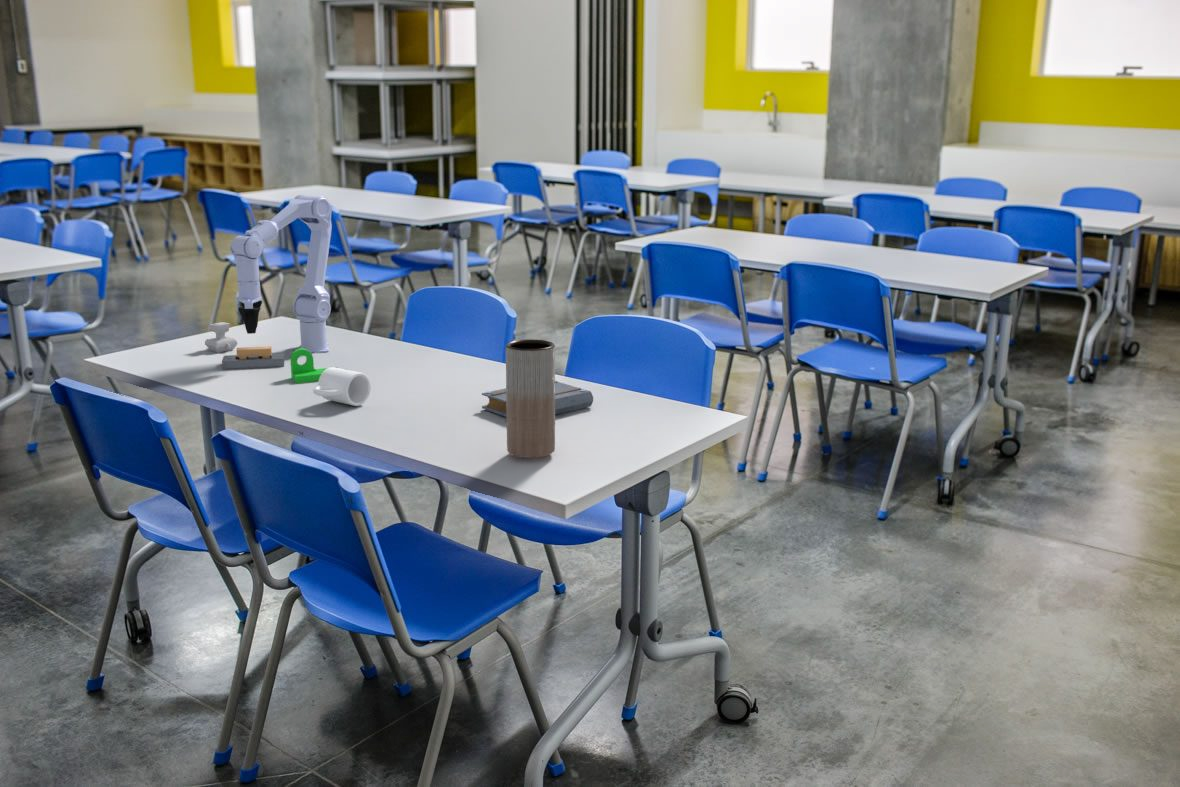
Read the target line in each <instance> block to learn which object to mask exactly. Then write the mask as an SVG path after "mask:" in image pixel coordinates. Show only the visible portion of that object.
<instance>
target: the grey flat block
mask: <svg viewBox="0 0 1180 787" xmlns="http://www.w3.org/2000/svg"><path fill="white" fill-rule="evenodd" d="M285 360H286V358H285V352H282V353H281V352H280V353H278V352H277V353H272V355H271V356H270V358H262V356H253V357H247V359H239V357H237V354H233V355H232V354H230V355H227V354H226V355H223V357H222V360H221V366H222V367H221V368H222V370H223V371H224V370H225V371H227V370H228V371H229V370H245V369H248V370H249V369H264V368H265V369H266V368H279V367H280V368H283V367H285Z"/></svg>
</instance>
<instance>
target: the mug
mask: <svg viewBox="0 0 1180 787" xmlns="http://www.w3.org/2000/svg"><path fill="white" fill-rule="evenodd" d="M326 368H327V369H326V370H325V371H323V373H322V374H321V376H320V378H319V381H317V382H318V383H317V386H316V387H314V388H313V390H312V391H313V392H312V393H313V394H315V395H316V396H319V397H322V398H323V399H325V400H328V401H333V402H336V403H341V404H345V405H350V406H353V407H354V406H356V407H358V406H361V405H363V404H364V403H366V401H367V400H368V399H369V396H370V394H371V389H372V388H371V387H372V385H371V381H370V378H369V377H368V376H367V375H366V374H365V373H363V372H359V371H355V370H354V371H353V370H349V369H345V368H339V367H337V368H335V367H334V366H333V367H332V366H330V367H326Z"/></svg>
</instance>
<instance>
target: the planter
mask: <svg viewBox="0 0 1180 787" xmlns="http://www.w3.org/2000/svg"><path fill="white" fill-rule="evenodd" d="M555 381H556V345H555V343H554V342H552V341H549V340H543V339H518V340H513V341H510V342H508V343H506V345H505V387H506V411H507V417H506V450H507V452H508V453H509V454H510V455H512V456H515V457H519V458H526V459H527V458H529V459H530V458H542V457H547V456H550V455H551V454H553V453H554V452H555V449H556V414H555Z"/></svg>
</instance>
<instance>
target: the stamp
mask: <svg viewBox="0 0 1180 787" xmlns="http://www.w3.org/2000/svg"><path fill="white" fill-rule="evenodd" d="M230 329H231V323H228V322H224V321H222V322H215V323H210V324H209V330H210V331H211V332H212V333H215V337H212V338H206V339H205V341H204V345H205V346H206V348H208V350H210V351H212V352H215V351H216V352H215V353H218V352H219V353H224V351H225V352H229V350H230V351H233V350H234V349H235V348H237V347H236V346H238V341H237V340H236V339H235V338H233V337H228V336H226V333H228V332H229V331H230Z"/></svg>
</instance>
